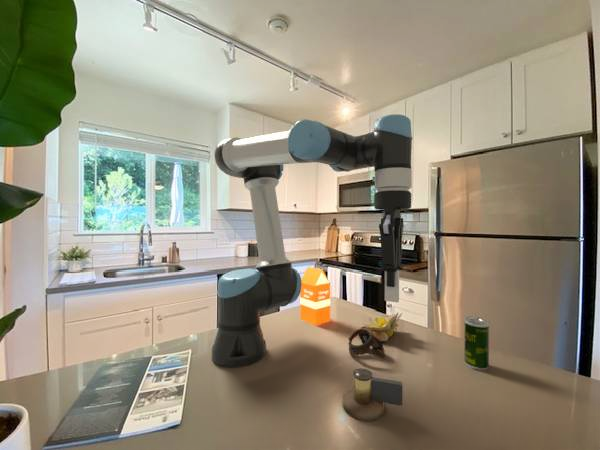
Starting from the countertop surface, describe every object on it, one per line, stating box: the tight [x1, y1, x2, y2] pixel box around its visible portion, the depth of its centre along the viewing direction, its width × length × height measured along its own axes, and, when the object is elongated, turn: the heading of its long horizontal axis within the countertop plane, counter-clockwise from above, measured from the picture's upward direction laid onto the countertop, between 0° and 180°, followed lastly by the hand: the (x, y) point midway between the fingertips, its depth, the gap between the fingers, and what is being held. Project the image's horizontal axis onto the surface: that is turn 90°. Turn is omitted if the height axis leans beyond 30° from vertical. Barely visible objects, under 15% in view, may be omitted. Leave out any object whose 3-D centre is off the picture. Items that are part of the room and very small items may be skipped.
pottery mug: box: [348, 326, 386, 359], centre depth 78 cm, size 12×10×8 cm
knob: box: [352, 367, 403, 406], centre depth 54 cm, size 9×4×5 cm, turn 73°
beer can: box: [463, 315, 490, 371], centre depth 71 cm, size 5×5×12 cm
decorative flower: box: [362, 312, 403, 342], centre depth 91 cm, size 15×11×10 cm
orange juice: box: [299, 266, 331, 326], centre depth 104 cm, size 8×9×20 cm
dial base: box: [342, 387, 384, 422], centre depth 55 cm, size 8×8×2 cm
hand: (391, 300), depth 59 cm, fingers closed
